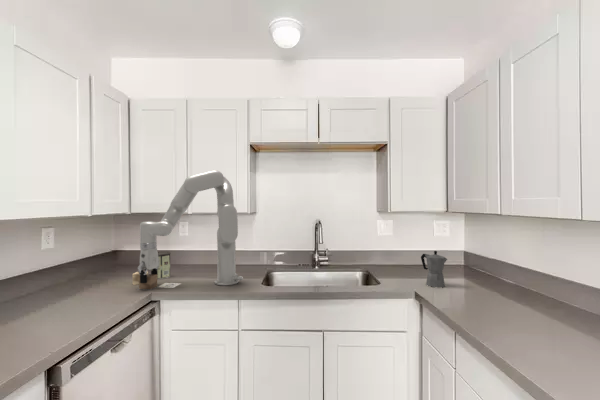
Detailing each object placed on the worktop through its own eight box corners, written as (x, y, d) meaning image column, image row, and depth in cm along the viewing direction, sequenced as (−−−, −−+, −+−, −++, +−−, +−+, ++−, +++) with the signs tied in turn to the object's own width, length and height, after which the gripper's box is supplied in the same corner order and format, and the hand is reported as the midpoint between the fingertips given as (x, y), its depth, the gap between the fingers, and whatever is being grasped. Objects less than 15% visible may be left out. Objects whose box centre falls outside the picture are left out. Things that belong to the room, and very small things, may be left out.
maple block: (148, 282, 182) (148, 271, 182) (144, 285, 176) (144, 274, 176) (136, 283, 181) (136, 271, 181) (132, 285, 175) (132, 274, 175)
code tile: (181, 284, 179) (181, 283, 179) (173, 288, 170) (173, 287, 170) (165, 283, 180) (165, 282, 180) (156, 288, 171) (156, 287, 171)
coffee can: (156, 275, 199) (156, 251, 199) (173, 275, 198) (173, 251, 198) (147, 279, 189) (147, 254, 189) (164, 280, 188) (164, 254, 188)
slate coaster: (159, 286, 173) (159, 285, 173) (151, 291, 165) (151, 289, 165) (145, 286, 174) (145, 285, 174) (135, 290, 166) (135, 289, 166)
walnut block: (157, 286, 173) (157, 274, 173) (150, 289, 167) (150, 277, 167) (146, 285, 173) (146, 274, 173) (139, 288, 167) (139, 276, 167)
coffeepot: (452, 287, 174) (452, 251, 174) (441, 289, 169) (441, 253, 168) (426, 280, 187) (426, 248, 187) (415, 283, 181) (415, 249, 181)
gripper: (145, 248, 161) (146, 285, 161) (164, 243, 178) (165, 276, 178) (131, 248, 162) (131, 284, 162) (150, 243, 179) (151, 276, 179)
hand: (149, 280), depth 170 cm, fingers open, 9 cm apart
